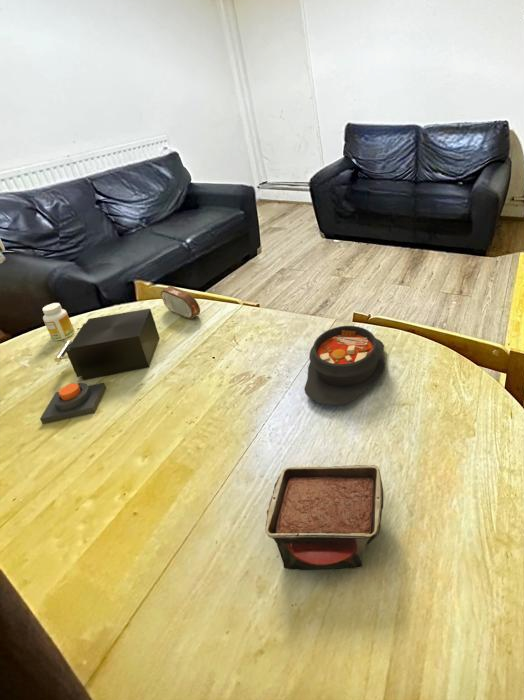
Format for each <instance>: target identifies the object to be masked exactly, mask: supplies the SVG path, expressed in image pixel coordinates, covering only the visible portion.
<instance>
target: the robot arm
mask: <svg viewBox="0 0 524 700" xmlns="http://www.w3.org/2000/svg"><path fill="white" fill-rule="evenodd" d="M5 251H6V248H5V245H4V243H3V241H2V239H1V238H0V264H3V263H4V262H6V260H7V257H5V255H4V254H3V253H4V252H5Z"/></svg>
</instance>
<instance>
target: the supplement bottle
mask: <svg viewBox="0 0 524 700" xmlns="http://www.w3.org/2000/svg"><path fill="white" fill-rule="evenodd" d="M42 312H43V314H44V315H43V316H42V320H43V322H44V325H45V327H46V329H47V331H48V334H49V336H50V338H51V340H53V341H63V340H66V339H68V338H70V337H71V336H72V335H73V334H74V333H75V328H74V326H73V324H72V322H71V319H70V316H69V315H68V312H67V310H66V309H64V308H62V305H61V304H60V302H52V303H50V304H46V305H44V307H42Z"/></svg>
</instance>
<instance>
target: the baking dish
mask: <svg viewBox="0 0 524 700" xmlns="http://www.w3.org/2000/svg"><path fill="white" fill-rule="evenodd" d="M381 475H382V474H381V470H380V469H379V467H378V466H377V465H374V464H372V465H371V464H370V465H367V464H366V465H365V464H364V465H363V464H362V465H361V464H359V465H358V464H356V465H334V466H333V465H332V466H289V467H288V466H287V467H285V468H284V469H283V470H282V471H281V473H280V474H279V476H278V477H277V479H276V482H275V483H274V486H273V491H272V495H271V497H270V501H269V505H268V508H267V510H266V522H265V528H264V529H265V534H266V536H267V537H268V538H271V539H273V541H274V542H275V543H276V545H277V548H278V552H279V554H280V558H281V560H282V561H281V562H282V563H283V569H284V568H285V569H288V570H294V569H299V571H326V570H333V571H334V570H347V569H348V570H349V569H358V568H362V567H363V562H362V558H363V554H364V552H365V549H366V547H367V546H368V545H369V544H371V543H372V542H373V540H375V539H376V538H377V537H378V535H379V534H380V531H381V526H382V525H381V524H382V515H383V514H382V513H383V509H384V486H383V480H382V476H381Z"/></svg>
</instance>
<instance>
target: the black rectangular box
mask: <svg viewBox="0 0 524 700" xmlns="http://www.w3.org/2000/svg"><path fill="white" fill-rule="evenodd" d="M84 324H85V325H84V327H83V328H82V327H81V328H82V330H81V331H80V330H79V331H80V333H79V334H78V333H77V334H78V336H77V338H76V339H75V341H74V342H73V344H72V345H71V347H70V348H69V349H70V351H71V354H72V356H73V358H74V360H75V363H76V365H77V367H78V370H79V372H80V374H81V379H82V381H84V382H85V381H89V380H95V379H99V378H103V377H109V376H114V375H118V374H123V373H128V372H129V373H130V372H134V371H139V370H144V369H149V368H150V366H151V364H152V361H153V358H154V355H155V352H156V349H157V346H158V343H159V341H160V335H159V331H158V328H157V325H156V322H155V318H154V316H153V312H152V310H151V308H145V309H138V310H131V311H126V312H121V313H115V314H108V315H103V316H97V317H90V318H88V319H87V321H86V322H85V323H84Z"/></svg>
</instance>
